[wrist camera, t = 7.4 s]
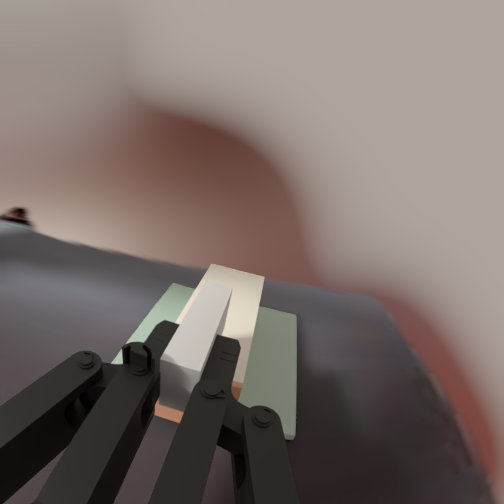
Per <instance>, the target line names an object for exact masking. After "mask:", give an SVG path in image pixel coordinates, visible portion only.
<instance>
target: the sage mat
mask: <svg viewBox="0 0 504 504" xmlns="http://www.w3.org/2000/svg"><path fill="white" fill-rule="evenodd" d="M195 290H196V289H193V288H190V287H186V286H182V285H179V284H175V283H172V285H171V286H170V287H169V288H168V290H167V291H166V292H165V293H164V295H163V296H162V297H161V299H160V300H159V301H158V302H157V304H156V305H155V306H154V308H153V309H152V310H151V311H150V313H149V314H148V315H147V317H146V318H145V319H144V320H143V322H142V323H141V324H140V326H139V327H138V328H137V330H136V331H135V332H134V334H133V335H132V336H131V338H130V339H129V340H128V342H127V343H130V342H143V343H144V342H145V340H146V339H147V338H148V336H149V335H150V333H151V332H152V330H153V329H154V327H155V326H156V324H158V323H160V322H162V321H163V320H167V321H170V322H174V323H175V322H176V320H177V319H178V317H179V315H180V314H181V312H182V311H183V309H184V307H185V306H186V304H187V302H188V301H189V299H190V298H191V296H192V294H193V293H194V291H195ZM127 343H126V344H127ZM111 364H123V358H122V350H121V351H120V352H119V354H118V355H117V356H116V358H115V359H114V360H113V362H112V363H111ZM296 386H297V317H296V315H295V314H291V313H286V312H282V311H278V310H274V309H270V308H266V307H262V306H259V308H258V313H257V318H256V323H255V328H254V333H253V338H252V343H251V348H250V352H249V357H248V362H247V367H246V372H245V376H244V381H243V386H242V390H241V393H240V396H239V399H238V402H240V403H241V404H243V405H245V406H247V407H249V408H251V407H253V406H258V405H261V406H267V407H269V408H271V409H273V410H274V411H275V412H276V413H277V414H278V415H279V417H280V419H281V423H282V428H283V432H284V436H285V439H288V440H293V439H294V437H295V431H296Z"/></svg>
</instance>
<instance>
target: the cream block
mask: <svg viewBox="0 0 504 504" xmlns="http://www.w3.org/2000/svg"><path fill="white" fill-rule="evenodd" d="M264 278H265V277H263V276H259V275H255V274H251V273H247V272H243V271H239V270H235V269H231V268H227V267H224V266H219V265H216V264H211V266H210V267H209V269H208V270H207V272H206V274H205V275H204V277H203V278H202V280H201V282H200V283H199V285H198V286H197V288H196V290H195V291H194V293H193V294H192V296H191V298H190V299H189V301H188V302H187V304H186V306H185V307H184V309H183V311H182V312H181V314H180V315H179V317H178V319H177V320H176V322H175V323H177V324H180V323H181V322H182V320H183V318H184V317H185V315H186V313H187V311H188V310H189V308H190V306H191V305H192V303H193V301H194V300H195V298H196V296H197V294H198V293H199V291H200V289H201V288H202V286H203V284H204V283H205V281H210V282H214V283H218V284H221V285H225V286H229V287H233V290H232V295H231V300H230V304H229V309H228V313H227V318H226V323H225V327H224V330H223V333H222V336H225V337H229V338H233V339H236V340H238V341H239V344H240V346H241V350H240V354H239V358H238V362H237V366H236V370H235V374H234V378H233V382H232V386H231V391H232V394H233V396H234V398H235V399H236V400H237V401H238V399H239V396H240V393H241V390H242V386H243V381H244V376H245V372H246V367H247V362H248V357H249V352H250V348H251V343H252V338H253V333H254V328H255V323H256V318H257V313H258V308H259V303H260V298H261V293H262V288H263V283H264ZM183 413H184V412H181V411H178V410H175V409H171V408H168V407H165V406H163V405H160V404H159V398H158V400H157V402H156V404H155V413H154V415H156V416H159V417H162V418H165V419H168V420H171V421H174V422H177V423H180V421H181V418H182V416H183Z"/></svg>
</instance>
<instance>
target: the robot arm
mask: <svg viewBox="0 0 504 504" xmlns="http://www.w3.org/2000/svg"><path fill="white" fill-rule="evenodd" d="M232 290H233V287H229V286H225V285H221V284H218V283H214V282H210V281H205V283H204V284H203V286H202V288H201V289H200V291H199V293H198V294H197V296H196V298H195V300H194V301H193V303H192V305H191V306H190V308H189V310H188V311H187V313H186V315H185V317H184V318H183V320H182V322H181V323H180V324H177V323H174V322H170V321H167V320H163V321H162V322H160V323H158V324H156V326H155V327H154V329H153V330H152V332H151V333H150V335H149V336H148V338H147V339H146V340H145V342H144V343H143V342H130V343H127V344H125V345H124V346H123V347H122V358H123V364H110V363H103V362H102V361H101V358H100V357H99V356H98V355H97V354H96V353H94V352H91V351H80V352H77V353H75V354H74V355H72V356H71V357H69V358H68V359H66V360H65V361H64V362H62V363H61V364H59V365H58V366H56V367H55V368H54V369H52V370H51V371H49V372H48V373H46V374H45V375H44V376H42V377H41V378H39V379H38V380H36V381H35V382H34V383H32V384H31V385H29V386H28V387H27V388H25V389H24V390H22V391H21V392H20V393H18V394H17V395H15V396H14V397H13V398H11V399H10V400H8V401H7V402H6V403H4V404H3V405H1V406H0V504H3V503H4V502H5V501H6V500H7V499H9V498H10V497H11V496H12V495H13V494H14V493H15V492H17V491H18V490H19V489H20V488H21V487H22V486H23V485H25V484H26V483H27V482H28V481H29V480H30V479H31V478H32V477H34V476H35V475H36V474H37V473H38V472H39V471H40V470H41V469H43V468H44V467H45V466H46V465H47V464H48V463H49V462H50V461H52V460H53V459H54V458H55V457H56V456H57V455H58V454H59V453H60V452H61V451H63V450H64V449H65V448H66V447H67V446H68V447H67V449H66V450H65V452H64V453H63V455H62V457H61V458H60V460H59V461H58V463H57V465H56V466H55V468H54V470H53V471H52V473H51V475H50V476H49V478H48V480H47V481H46V483H45V485H44V486H43V488H42V490H41V491H40V493H39V495H38V497H37V498H36V500H35V501H34V502H33V503H32V504H113V503H114V501H115V498H116V496H117V494H118V492H119V489H120V487H121V485H122V483H123V481H124V478H125V476H126V474H127V472H128V470H129V467H130V465H131V463H132V461H133V459H134V457H135V454H136V452H137V450H138V448H139V446H140V444H141V441H142V439H143V437H144V435H145V433H146V431H147V429H148V426H149V424H150V422H151V420H152V418H153V416H154V413H155V404H156V402H157V400H158V398H159V404H160V405H163V406H165V407H168V408H171V409H175V410H178V411H181V412H184V413H183V416H182V418H181V421H180V423H179V426H178V428H177V431H176V433H175V436H174V439H173V441H172V444H171V446H170V449H169V451H168V454H167V457H166V459H165V462H164V464H163V467H162V469H161V472H160V475H159V477H158V480H157V482H156V485H155V487H154V490H153V493H152V495H151V498H150V500H149V503H148V504H201V500H202V497H203V493H204V489H205V486H206V482H207V478H208V475H209V471H210V467H211V463H212V460H213V456H214V452H215V448H216V445H218V446H220V447H222V448H223V449H225V450H227V451H229V452H231V461H232V471H233V482H234V491H235V501H236V504H300V500H299V496H298V492H297V488H296V483H295V479H294V475H293V471H292V466H291V462H290V458H289V453H288V449H287V445H286V441H285V436H284V432H283V428H282V423H281V419H280V417H279V415H278V414H277V413H276V412H275V411H274V410H273V409H271V408H269V407H267V406H261V405H258V406H253V407H251V408H249V407H247V406H245V405H243V404H241V403H240V402H238V401H237V400H236V399H235V398H234V396H233V394H232V391H231V386H232V382H233V378H234V374H235V370H236V366H237V362H238V358H239V354H240V350H241V346H240V344H239V341H238V340H236V339H233V338H229V337H225V336H222V333H223V330H224V327H225V323H226V318H227V313H228V309H229V304H230V300H231V295H232Z"/></svg>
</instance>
